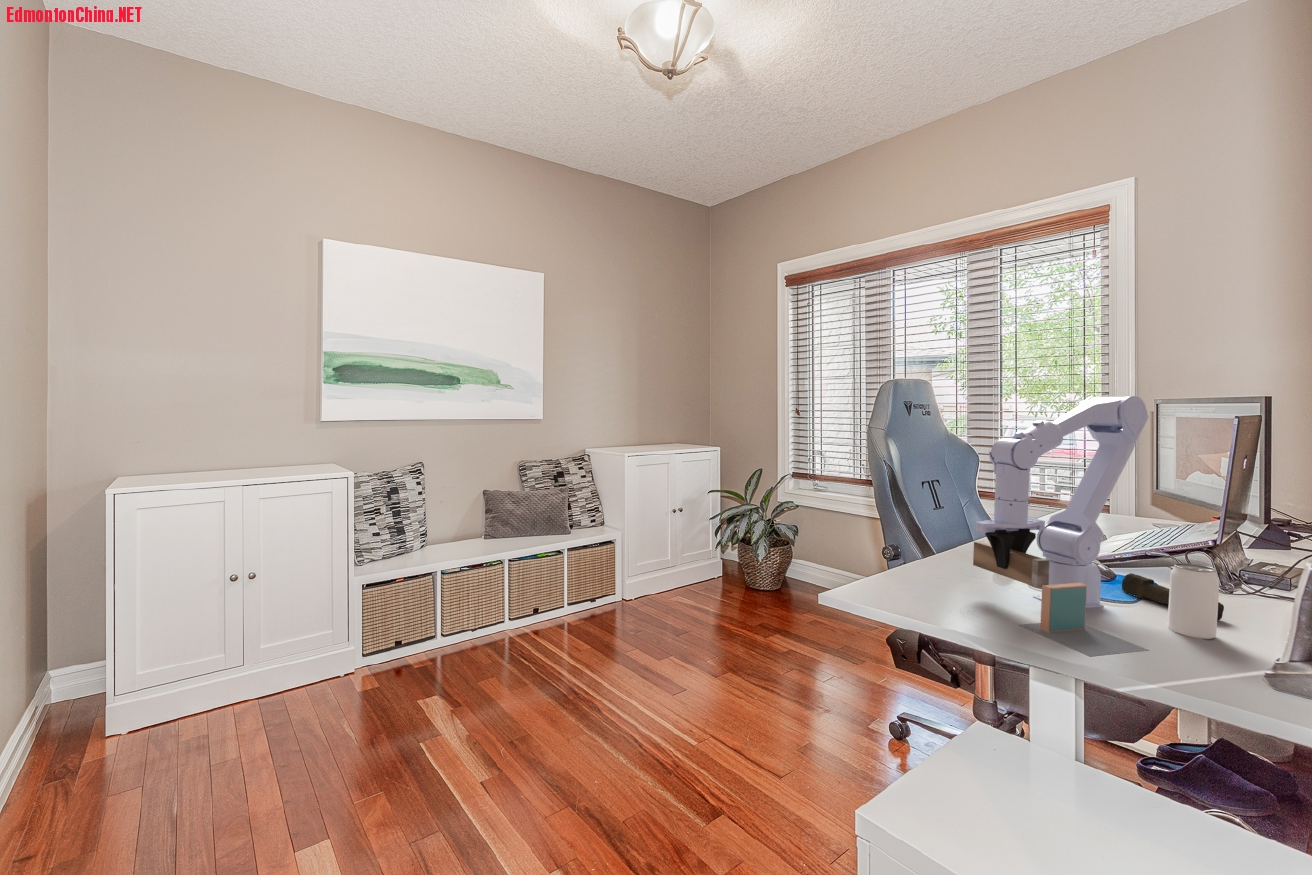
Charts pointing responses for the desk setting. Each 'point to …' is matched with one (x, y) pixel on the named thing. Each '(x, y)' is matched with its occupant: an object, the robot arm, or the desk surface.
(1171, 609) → the can
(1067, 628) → the tile
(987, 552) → the wooden plank
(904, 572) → the desk surface
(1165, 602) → the hand tool
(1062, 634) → the mat
